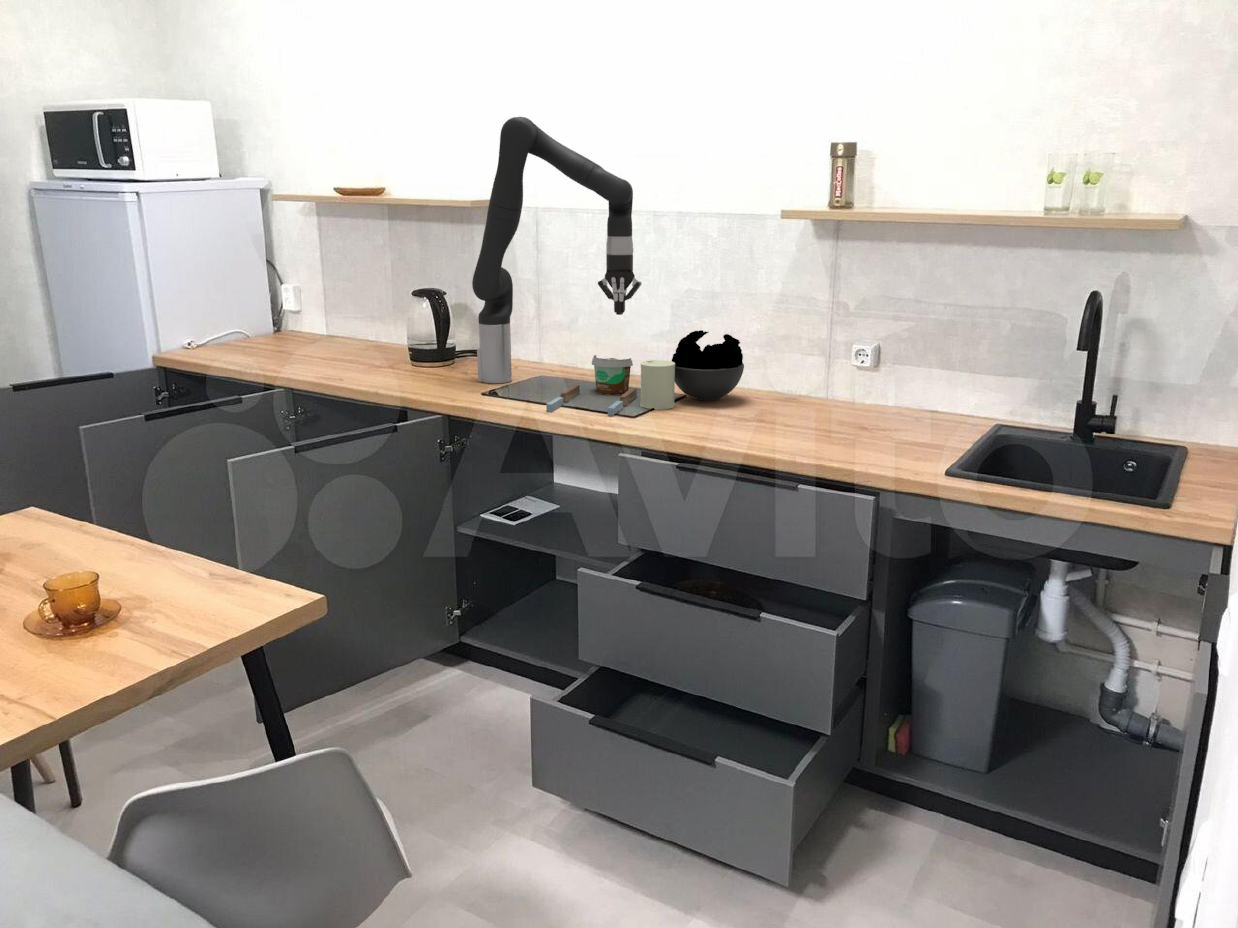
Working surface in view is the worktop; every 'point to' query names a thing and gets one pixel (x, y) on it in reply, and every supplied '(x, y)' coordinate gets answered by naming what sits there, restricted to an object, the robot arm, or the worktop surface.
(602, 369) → the food container
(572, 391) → the walnut channel
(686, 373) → the coal bowl
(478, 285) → the robot arm
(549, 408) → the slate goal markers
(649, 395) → the can
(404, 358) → the worktop surface
